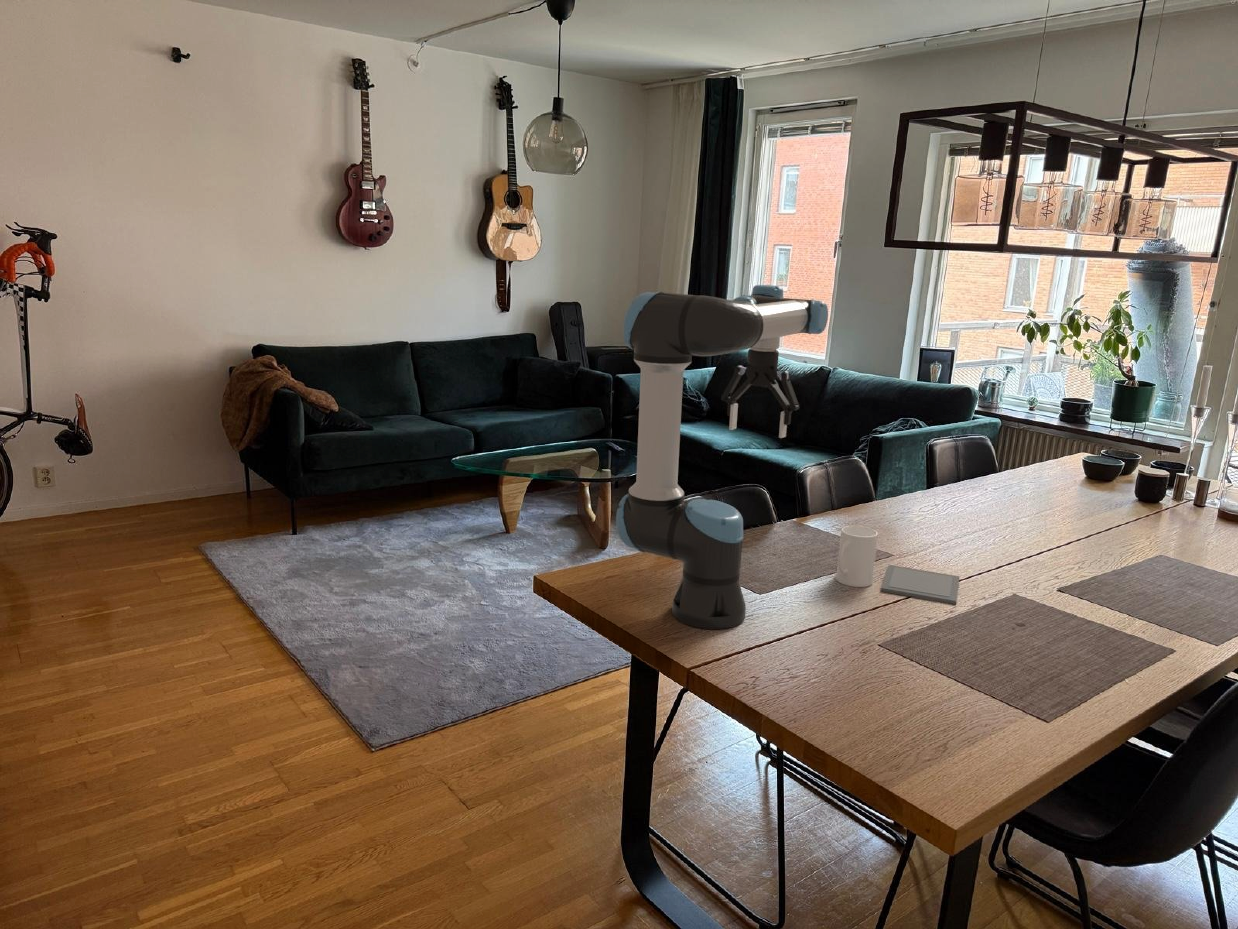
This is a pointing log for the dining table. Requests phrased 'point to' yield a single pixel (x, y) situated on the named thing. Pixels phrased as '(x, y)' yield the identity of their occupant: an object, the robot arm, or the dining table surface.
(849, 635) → the dining table surface
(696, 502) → the robot arm
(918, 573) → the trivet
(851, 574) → the mug
